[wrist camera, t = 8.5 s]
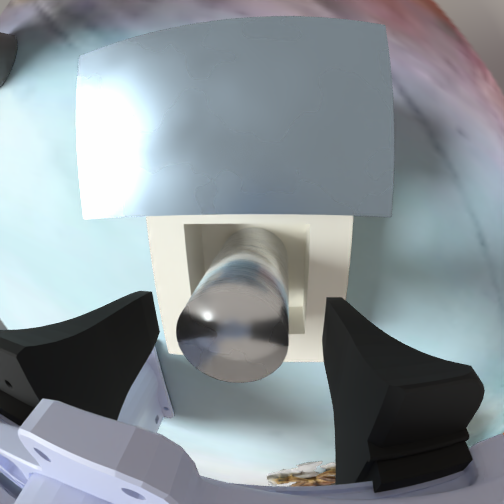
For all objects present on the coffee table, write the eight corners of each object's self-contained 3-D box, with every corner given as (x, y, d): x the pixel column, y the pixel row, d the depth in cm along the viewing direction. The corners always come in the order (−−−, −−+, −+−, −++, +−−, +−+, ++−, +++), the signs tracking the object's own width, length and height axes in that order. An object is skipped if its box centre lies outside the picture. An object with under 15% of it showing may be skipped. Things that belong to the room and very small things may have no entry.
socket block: (329, 324, 20) (336, 361, 16) (187, 319, 21) (168, 353, 17) (339, 174, 16) (354, 181, 12) (171, 177, 17) (143, 185, 14)
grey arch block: (339, 183, 16) (391, 216, 8) (172, 185, 18) (83, 219, 9) (337, 83, 14) (385, 25, 6) (169, 91, 16) (78, 55, 7)
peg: (288, 227, 17) (290, 293, 9) (287, 291, 18) (286, 385, 10) (218, 227, 17) (168, 289, 10) (222, 289, 18) (185, 377, 11)
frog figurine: (376, 476, 27) (380, 498, 24) (298, 499, 31) (297, 520, 27) (343, 445, 25) (346, 474, 21) (251, 472, 28) (248, 497, 25)
